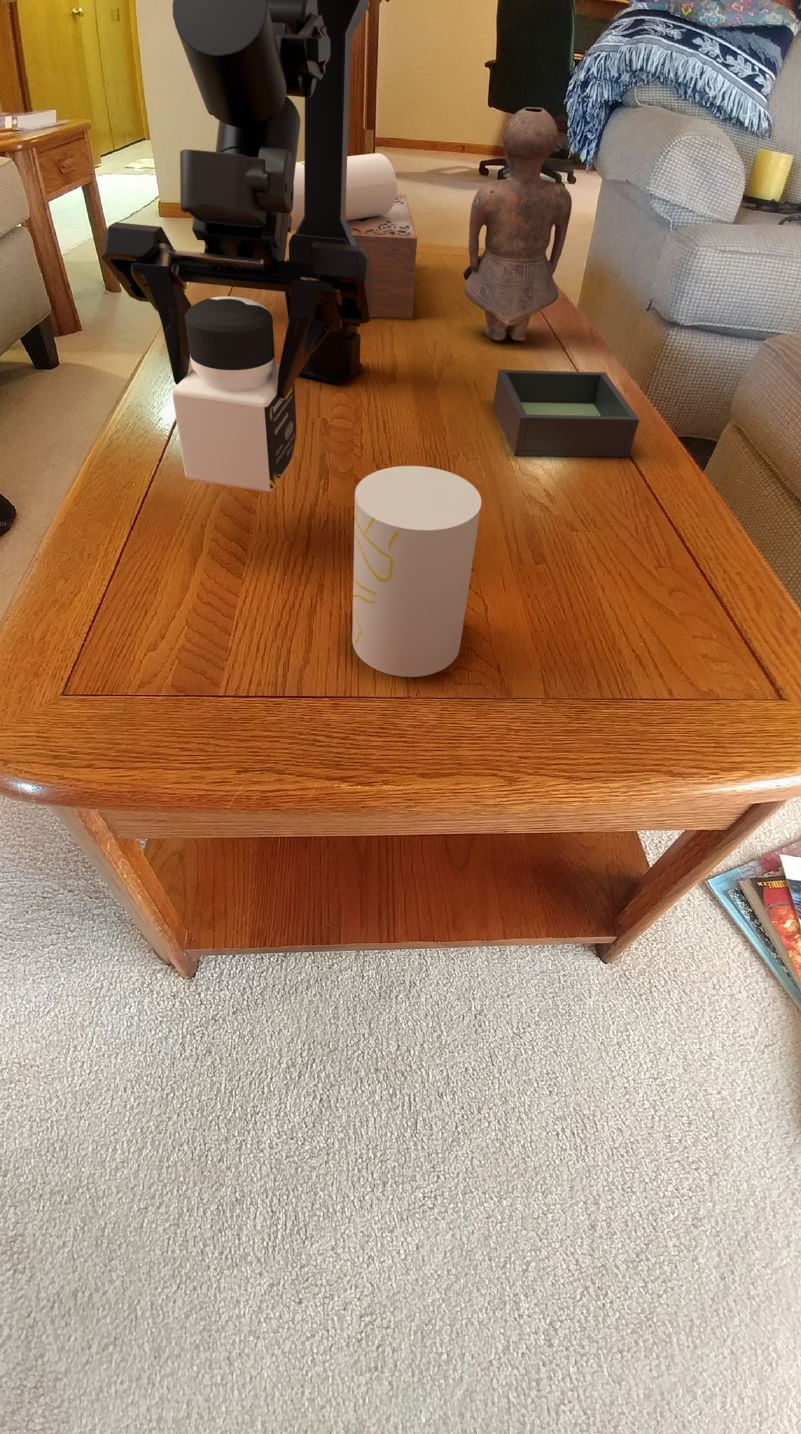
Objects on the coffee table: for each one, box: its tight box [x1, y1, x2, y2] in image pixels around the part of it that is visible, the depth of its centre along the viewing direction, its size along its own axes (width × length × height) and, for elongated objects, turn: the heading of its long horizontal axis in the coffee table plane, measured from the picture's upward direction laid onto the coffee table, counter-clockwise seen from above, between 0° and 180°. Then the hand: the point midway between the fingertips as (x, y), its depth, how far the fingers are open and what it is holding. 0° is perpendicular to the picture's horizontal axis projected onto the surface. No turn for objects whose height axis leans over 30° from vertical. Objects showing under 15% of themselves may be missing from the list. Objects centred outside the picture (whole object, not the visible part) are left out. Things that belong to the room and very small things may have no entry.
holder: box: [492, 369, 640, 458], centre depth 83 cm, size 13×13×4 cm
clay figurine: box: [462, 106, 573, 342], centre depth 96 cm, size 13×10×25 cm
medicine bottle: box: [171, 295, 298, 493], centre depth 56 cm, size 7×7×12 cm
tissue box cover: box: [347, 193, 418, 320], centre depth 113 cm, size 26×14×10 cm, turn 3°
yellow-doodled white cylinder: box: [351, 465, 482, 678], centre depth 53 cm, size 8×8×12 cm
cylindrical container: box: [290, 152, 398, 232], centre depth 99 cm, size 7×7×25 cm
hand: (229, 390), depth 55 cm, fingers closed on medicine bottle, 7 cm apart
